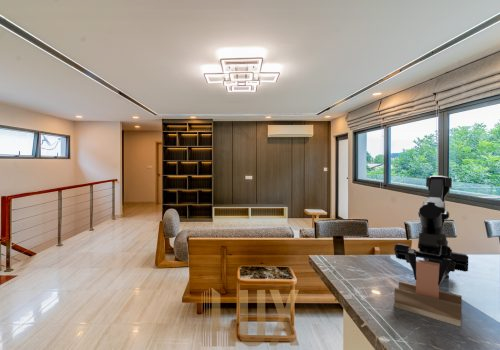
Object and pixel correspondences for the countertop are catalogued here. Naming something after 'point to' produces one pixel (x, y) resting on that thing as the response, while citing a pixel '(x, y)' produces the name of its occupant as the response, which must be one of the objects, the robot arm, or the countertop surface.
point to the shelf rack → (429, 304)
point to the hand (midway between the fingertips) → (426, 282)
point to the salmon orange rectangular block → (427, 278)
